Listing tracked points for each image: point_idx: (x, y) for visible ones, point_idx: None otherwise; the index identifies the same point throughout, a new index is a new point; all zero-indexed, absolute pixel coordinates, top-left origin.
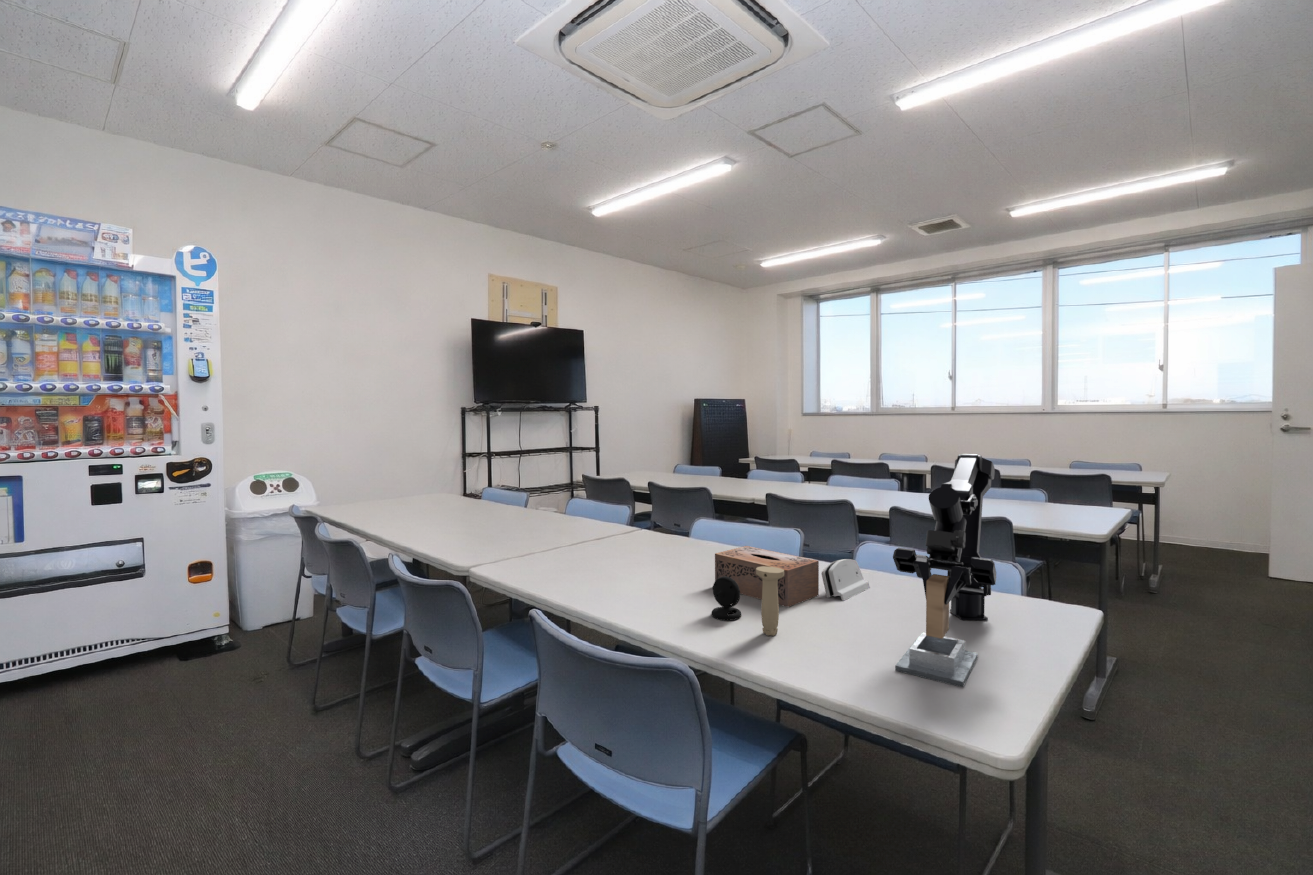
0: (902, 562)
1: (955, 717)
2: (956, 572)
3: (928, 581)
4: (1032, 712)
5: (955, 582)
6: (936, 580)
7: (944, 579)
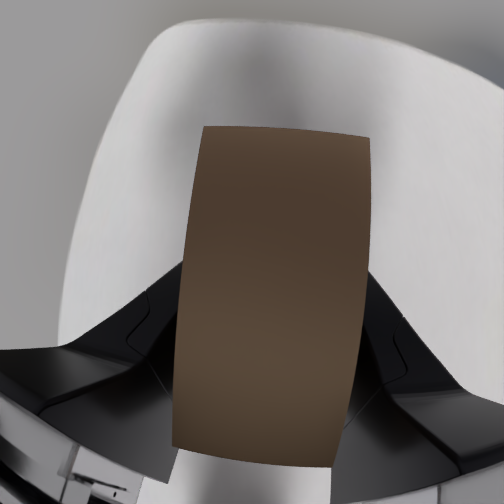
0: None
1: (224, 63)
2: (50, 363)
3: (348, 136)
4: (111, 147)
5: (114, 314)
6: (278, 203)
7: (198, 296)
